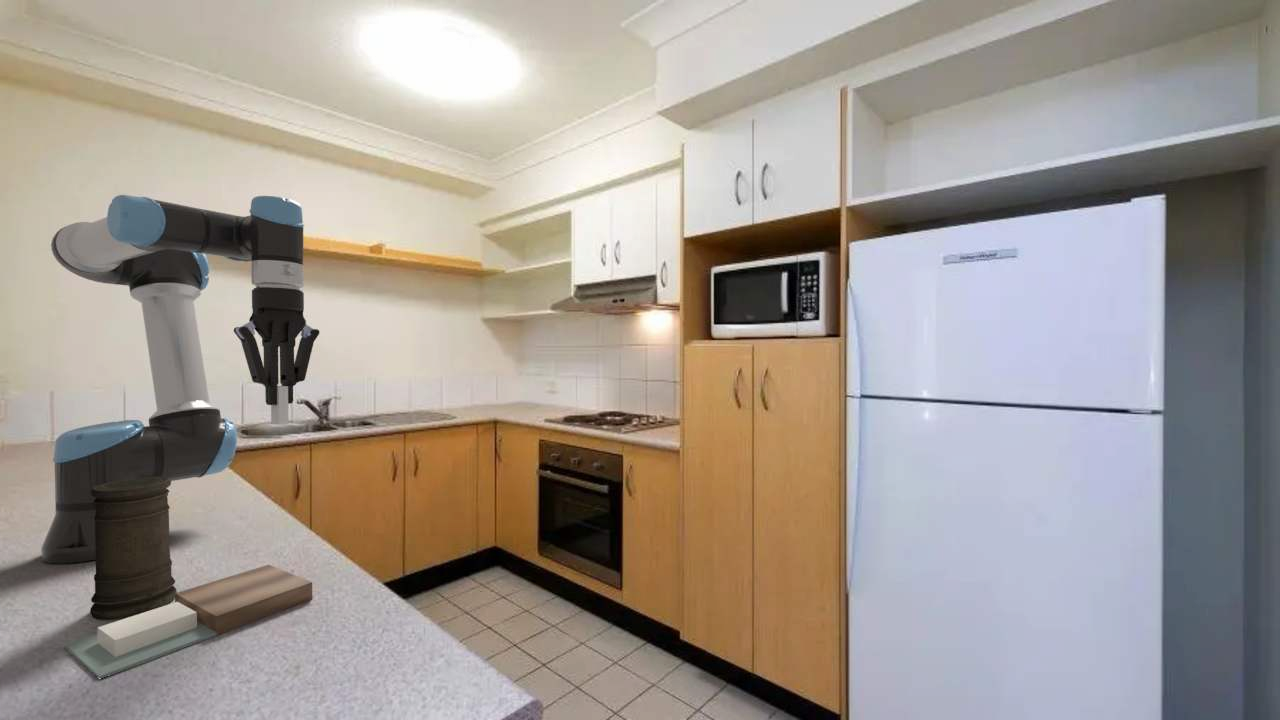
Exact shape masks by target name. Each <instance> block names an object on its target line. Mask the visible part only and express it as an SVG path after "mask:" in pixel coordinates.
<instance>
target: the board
mask: <svg viewBox="0 0 1280 720" xmlns="http://www.w3.org/2000/svg"><path fill="white" fill-rule="evenodd" d="M310 600H313V582H312V581H310V580H308V579H306V578H303V577H300V576H297V575H295V574H293V573H291V572H288V571H285V570H282V569H281V568H278V567H275V566H273V565H270V564H266V565H262V566H260V567H256V568H253V569H249V570H247V571H243V572H240V573H236V574H233V575H230V576H226V577H224V578H221V579H217V580H214V581H211V582H207V583H204V584H201V585H198V586H195V587H191V588H188V589H185V590H181V591H177V593H175V598H174V603H175V602H179V603H181V604H183V605H184V606H186V607H188V608H190V609H192V610H194V611H195V612H197V621H198V622H200V623H202V624H203V625H205V626H207V627H208V628H210V629H212V630H213V631H215V632H216V636H218V635H221V634H224V633H227V632H229V631H231V630H234V629H236V628H239V627H242V626H245V625H247V624H250V623H253V622H255V621H257V620H261V619H263V618H265V617H268V616H271V615H273V614H276V613H278V612H281V611H284V610H287V609H289V608H293V607H294V606H297V605H300V604H303V603H305V602H308V601H310Z"/></svg>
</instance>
